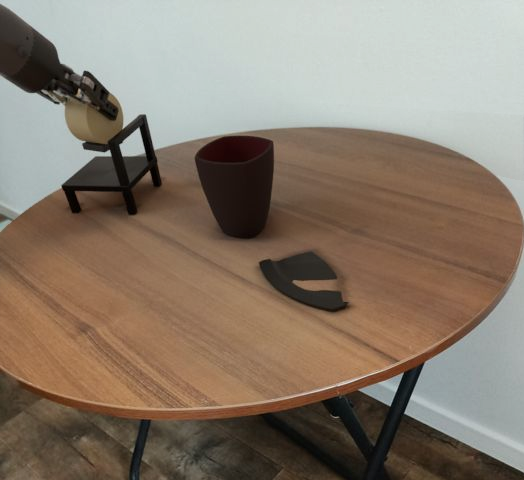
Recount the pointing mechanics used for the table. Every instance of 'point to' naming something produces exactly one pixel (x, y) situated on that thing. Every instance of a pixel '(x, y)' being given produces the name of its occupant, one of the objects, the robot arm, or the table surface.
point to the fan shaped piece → (303, 270)
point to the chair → (116, 169)
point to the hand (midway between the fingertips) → (102, 113)
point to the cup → (238, 182)
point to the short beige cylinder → (92, 124)
